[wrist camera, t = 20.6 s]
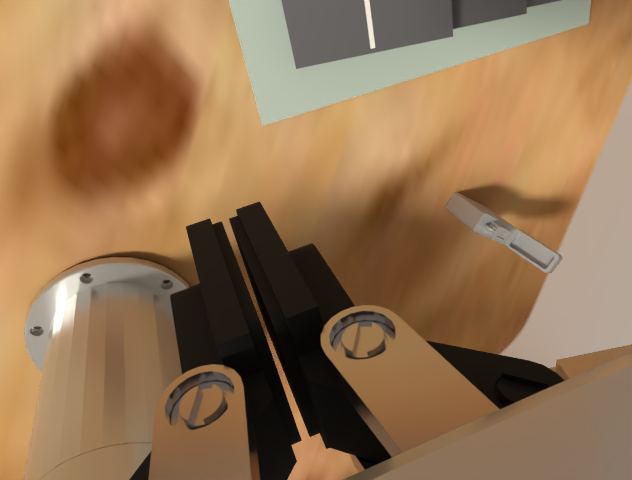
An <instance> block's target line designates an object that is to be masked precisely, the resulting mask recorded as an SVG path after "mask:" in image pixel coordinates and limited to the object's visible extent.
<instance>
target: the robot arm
mask: <svg viewBox="0 0 632 480" xmlns="http://www.w3.org/2000/svg"><path fill="white" fill-rule="evenodd" d="M236 211H237V215H238V216H236V217H233V218H230V219H229V220H230V223H231V226H232V229H233V232H234V235H235V238H236V241H237V244H238V247H239V250H240V253H241V256H242V259H243V262H244V264H245V267H246V270H247V273H248V276H249V279H250V282H251V285H252V288H253V291H254V294H255V297H256V300H257V303H258V306H259V308H260V311H261V314H262V317H263V320H264V322H265V325H266V327H267V330H268V333H269V335H270V338H271V340H272V343H273V345H274V348H275V350H276V353H277V355H278V358H279V360H280V363H281V365H282V368H283V370H284V373H285V375H286V378H287V381H288V383H289V386H290V388H291V391H292V393H293V396H294V398H295V401H296V403H297V406H298V408H299V411H300V413H301V416H302V418H303V421H304V424H305V426H306V429H307V431H308V434H309V436H310V437H311V436H313V435H316V434H318V433H320V435H321V437H322V440H323V442H324V444H325V447H326V449H327V448H333V449H336V450H339V451H342V452H346V453H349V454H350V456H351V459H352V461H353V463H354V465H355V467H356V469H357V470H358V472H359V473H357V474H355V475H352V476H350V477H348V478H346V479H344V480H632V345H628V346H623V347H618V348H613V349H608V350H603V351H598V352H593V353H588V354H584V355H579V356H574V357H569V358H564V359H559V360H557V363H556V367H553V368H547V367H546V366H544V365H541V364H538V363H535V362H531V361H528V360H523V359H518V358H513V357H507V356H502V355H497V354H492V353H487V352H482V351H476V350H471V349H466V348H461V347H456V346H451V345H445V344H440V343H435V342H430V341H425V340H424V339H423V338H422V337H421V336H420V335H418V334H417V333H416V332H415V331H414V330H413V329H412V328H411V327H410V326H409V325H408V324H407V323H405V322H404V321H403V320H402V319H401V318H400V317H399V316H398V315H397V314H395V313H393V312H392V311H390V310H389V309H386V308H383V307H380V306H374V305H362V306H354V304H353V303H352V301H351V300H350V298H349V296H348V295H347V293H346V292H345V290H344V289H343V287H342V286H341V284H340V283H339V281H338V280H337V278H336V277H335V275H334V274H333V272H332V271H331V269H330V268H329V266H328V265H327V263H326V262H325V260H324V259H323V257H322V256H321V254H320V253H319V251H318V250H317V248H316V247H315V246H314V244H309V245H306V246H303V247H300V248H298V249H295V250H292V251H289V252H288V251H287V249H286V247H285V246H284V244H283V242H282V240H281V238H280V237H279V235H278V233H277V231H276V230H275V228H274V226H273V224H272V222H271V221H270V219H269V217H268V215H267V214H266V212H265V210H264V208H263V206H262V205H261V203H260V202H257V203H254V204H251V205H248V206H245V207H242V208H239V209H237V210H236ZM186 229H187V233H188V237H189V241H190V245H191V249H192V253H193V257H194V261H195V265H196V269H197V273H198V277H199V281H200V284H198V285H195V286H192V287H190V286H189V285H188V284H187V282H185V281H184V280H183V279H182V278H181V277H180V276H179V275H177V274H176V273H175V272H173V271H171V270H170V269H168V268H166V267H164V266H162V265H160V264H157V263H154V262H151V261H148V260H143V259H137V258H132V257H110V258H102V259H95V260H92V261H88V262H85V263H82V264H78V265H76V266H74V267H72V268H70V269H68V270H66V271H64V272H62V273H60V274H59V275H58V276H56V277H55V278H54V279H52V280H51V281H49V282H48V283H47V284H46V285H45V286H44V288H43V289H42V290H41V291H40V292H39V293H38V294H37V296H36V298H35V299H34V301H33V303H32V304H31V306H30V309H29V312H28V316H27V319H26V324H25V329H24V337H25V345H26V349H27V351H28V354H29V356H30V359H31V360H32V361H33V363H34V364H35V365H36V367H37V368H38V370H40V371H41V372H42V375H41V380H40V386H39V392H38V398H37V404H36V409H35V415H34V421H33V427H32V433H31V438H30V444H29V450H28V456H27V461H26V467H25V473H24V479H23V480H287V479H288V477H289V475H290V473H291V471H292V469H293V467H294V465H295V463H296V462H297V460H296V458H295V455H294V452H293V449H292V446H291V445H293V444H295V443H297V442H299V441H301V437H300V435H299V432H298V429H297V426H296V423H295V420H294V417H293V414H292V411H291V409H290V406H289V403H288V400H287V397H286V394H285V391H284V388H283V385H282V383H281V380H280V377H279V374H278V371H277V368H276V365H275V362H274V359H273V357H272V354H271V351H270V348H269V345H268V342H267V339H266V336H265V334H264V331H263V328H262V325H261V323H260V320H259V317H258V315H257V312H256V310H255V307H254V304H253V302H252V299H251V297H250V294H249V291H248V289H247V286H246V284H245V281H244V278H243V276H242V273H241V271H240V268H239V265H238V263H237V260H236V258H235V255H234V252H233V250H232V247H231V245H230V242H229V239H228V237H227V234H226V232H225V229H224V226H223V224H222V221H221V222H218V223H216V224H213V225H212V223H211V220H210V219H207V220H204V221H201V222H198V223H195V224H192V225H189V226H186ZM85 273H89V274H85ZM165 280H166V281H165Z"/></svg>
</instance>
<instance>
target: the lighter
mask: <svg viewBox="0 0 632 480" xmlns="http://www.w3.org/2000/svg"><path fill="white" fill-rule="evenodd" d="M445 207H446V209H447V210H448V211H449V212H450V213H452V214H453V215H454V216H455V217H457V218H458V219H459V220H460V221H461V222H463V223H464V224H465V225H466V226H468V227H469V228H470V229H471V230H473V231H474V232H476V233H478V234H481V235H483V236H485V237H487V238H489V239H492V240H494V241H496V242H498V243H500V244H503V245H504V244H506V247H508V248H509V249H511V250H512V251H514V252H515V253H516V254H518V255H519V256H521V257H522V258H524V259H525V260H527V261H528V262H530V263H531V264H533V265H534V266H536V267H537V268H539V269H540V270H542V271H543V272H545V273H551V272H553V271H554V269H555V268H556V267H557V265H558V264H559V263H560V261H561V260H562V256H561V255H560V254H558V253H557V252H555V251H553V250H552V249H550V248H549V247H547V246H546V245H544V244H543V243H541V242H539V241H538V240H536V239H535V238H533V237H532V236H530V235H529V234H527V233H525V232H524V231H522V230H515V227H514V226H512V225H511V224H509V223H508V222H507V221H505V220H504V219H502V218H501V217H500V216H498V215H497V214H495V213H494V212H493V211H491V210H490V209H488V208H487V207H486V206H484V205H482V204H480V203H478V202H476V201H474V200H472V199H470V198H468V197H466V196H464V195H462V194H460V193H458V192H455V193H454V194H453V195H452V197H451V199H450V200H449V202H448V203H447V205H446V206H445Z"/></svg>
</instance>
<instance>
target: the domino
mask: <svg viewBox="0 0 632 480" xmlns="http://www.w3.org/2000/svg"><path fill="white" fill-rule="evenodd" d="M281 1H282V6H283V10H284V15H285V20H286V24H287V29H288V34H289V38H290V43H291V47H292V52H293V57H294V61H295V66H296V69H299V68H303V67H308V66H313V65H318V64H323V63H328V62H332V61H337V60H342V59H347V58H352V57H357V56H362V55H366V54H371V53H376V52H381V51H386V50H391V49H395V48H400V47H405V46H410V45H415V44H420V43H425V42H429V41H434V40H439V39H444V38H449V37H453V20H452V0H281Z"/></svg>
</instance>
